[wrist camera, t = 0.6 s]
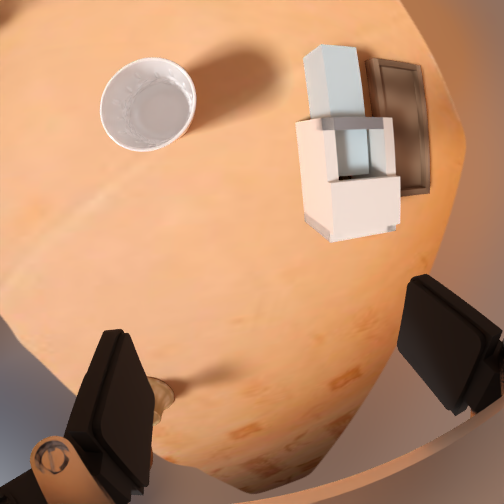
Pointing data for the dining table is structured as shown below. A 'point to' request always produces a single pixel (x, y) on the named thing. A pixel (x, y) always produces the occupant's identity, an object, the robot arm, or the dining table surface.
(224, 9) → the dining table surface
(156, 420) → the hand bell
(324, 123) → the dispenser
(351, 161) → the white rectangular block
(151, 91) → the white cup
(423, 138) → the tray
